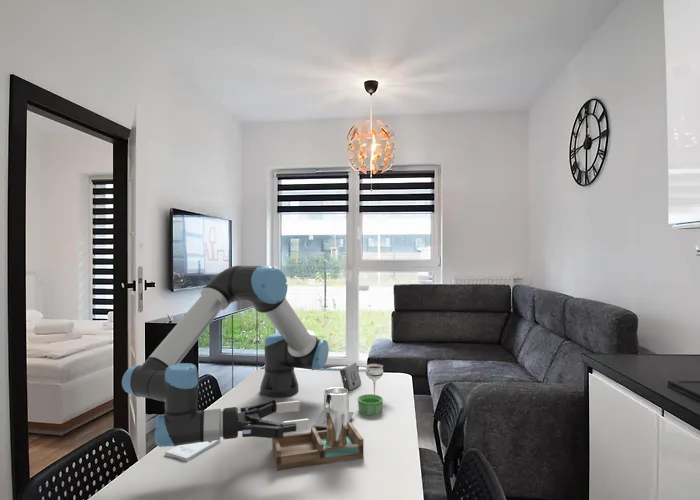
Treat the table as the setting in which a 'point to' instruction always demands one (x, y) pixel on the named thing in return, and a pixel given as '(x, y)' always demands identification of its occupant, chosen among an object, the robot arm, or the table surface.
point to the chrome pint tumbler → (336, 416)
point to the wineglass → (374, 372)
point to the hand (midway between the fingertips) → (303, 414)
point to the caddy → (315, 449)
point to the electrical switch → (350, 376)
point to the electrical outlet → (321, 421)
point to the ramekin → (370, 404)
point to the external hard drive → (190, 450)
